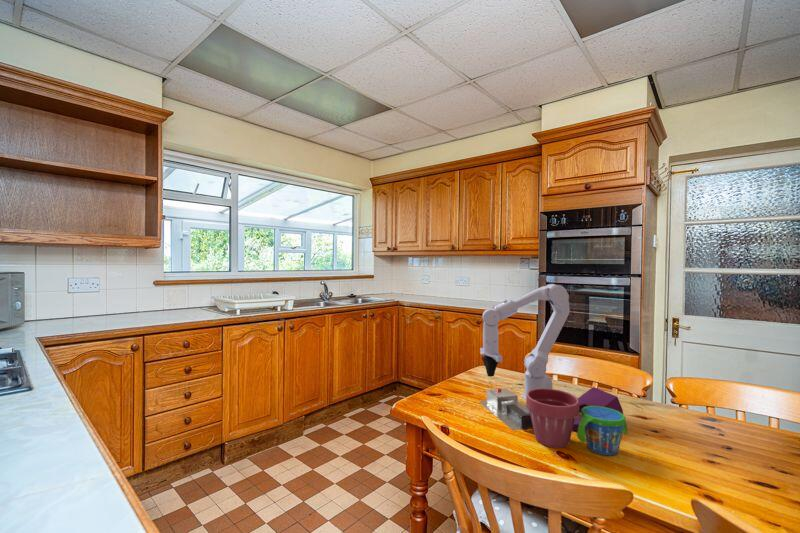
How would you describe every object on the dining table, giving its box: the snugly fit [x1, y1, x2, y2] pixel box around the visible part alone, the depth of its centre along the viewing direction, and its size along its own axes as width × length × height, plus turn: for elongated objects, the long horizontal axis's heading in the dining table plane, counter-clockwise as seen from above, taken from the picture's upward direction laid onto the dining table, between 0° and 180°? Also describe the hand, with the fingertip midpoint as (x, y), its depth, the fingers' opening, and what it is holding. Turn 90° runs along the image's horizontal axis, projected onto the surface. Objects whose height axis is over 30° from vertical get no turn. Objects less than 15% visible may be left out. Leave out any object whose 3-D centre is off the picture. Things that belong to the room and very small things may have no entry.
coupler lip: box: [478, 400, 533, 431], centre depth 125 cm, size 14×24×4 cm, turn 13°
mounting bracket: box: [572, 386, 624, 431], centre depth 117 cm, size 9×8×18 cm
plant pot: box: [525, 388, 580, 449], centre depth 106 cm, size 14×14×13 cm
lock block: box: [486, 387, 519, 410], centre depth 133 cm, size 8×8×5 cm
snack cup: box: [576, 406, 628, 456], centre depth 101 cm, size 16×10×10 cm
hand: (490, 376), depth 141 cm, fingers closed
